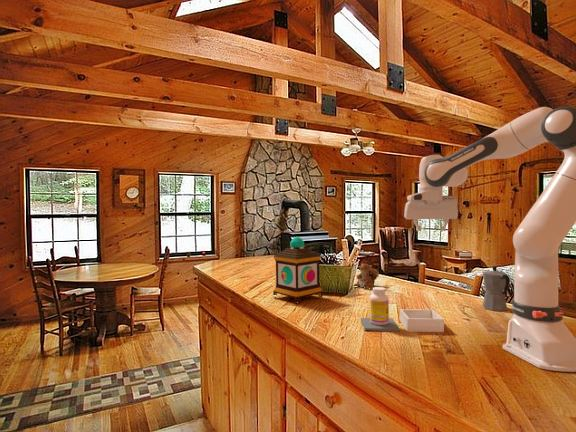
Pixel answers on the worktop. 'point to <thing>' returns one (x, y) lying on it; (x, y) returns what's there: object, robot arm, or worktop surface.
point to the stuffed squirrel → (366, 276)
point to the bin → (421, 320)
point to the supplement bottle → (379, 307)
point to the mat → (388, 327)
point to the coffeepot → (495, 290)
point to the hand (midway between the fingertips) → (430, 230)
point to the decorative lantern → (297, 271)
